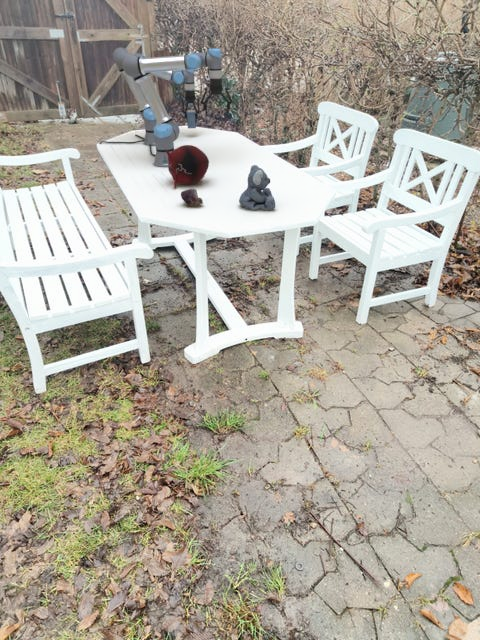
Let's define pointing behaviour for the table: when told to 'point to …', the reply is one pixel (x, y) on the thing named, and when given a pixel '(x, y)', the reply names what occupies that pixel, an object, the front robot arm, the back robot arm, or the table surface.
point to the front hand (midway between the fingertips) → (217, 115)
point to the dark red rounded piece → (187, 164)
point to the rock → (191, 197)
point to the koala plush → (257, 191)
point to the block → (191, 119)
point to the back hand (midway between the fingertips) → (191, 122)
